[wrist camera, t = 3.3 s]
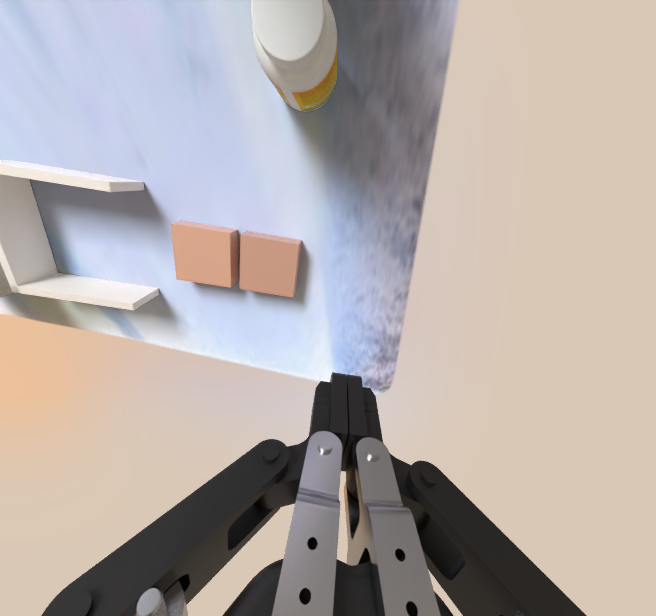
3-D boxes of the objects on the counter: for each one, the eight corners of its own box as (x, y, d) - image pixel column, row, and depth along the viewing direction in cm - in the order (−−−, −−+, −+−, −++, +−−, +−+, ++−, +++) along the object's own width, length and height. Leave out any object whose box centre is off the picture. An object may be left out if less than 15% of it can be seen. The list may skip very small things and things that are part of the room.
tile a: (183, 220, 29) (170, 223, 27) (238, 228, 29) (230, 232, 27) (188, 272, 32) (176, 279, 29) (238, 280, 32) (230, 287, 30)
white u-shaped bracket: (15, 160, 27) (-43, 157, 23) (143, 181, 27) (108, 182, 23) (53, 277, 32) (12, 292, 28) (159, 294, 33) (133, 310, 29)
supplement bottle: (269, 99, 24) (227, 53, 15) (285, 20, 21) (247, -86, 13) (326, 123, 24) (317, 92, 16) (347, 49, 22) (351, -34, 13)
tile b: (248, 230, 29) (240, 234, 27) (302, 239, 29) (299, 244, 27) (246, 281, 32) (239, 288, 30) (296, 289, 32) (293, 297, 30)
